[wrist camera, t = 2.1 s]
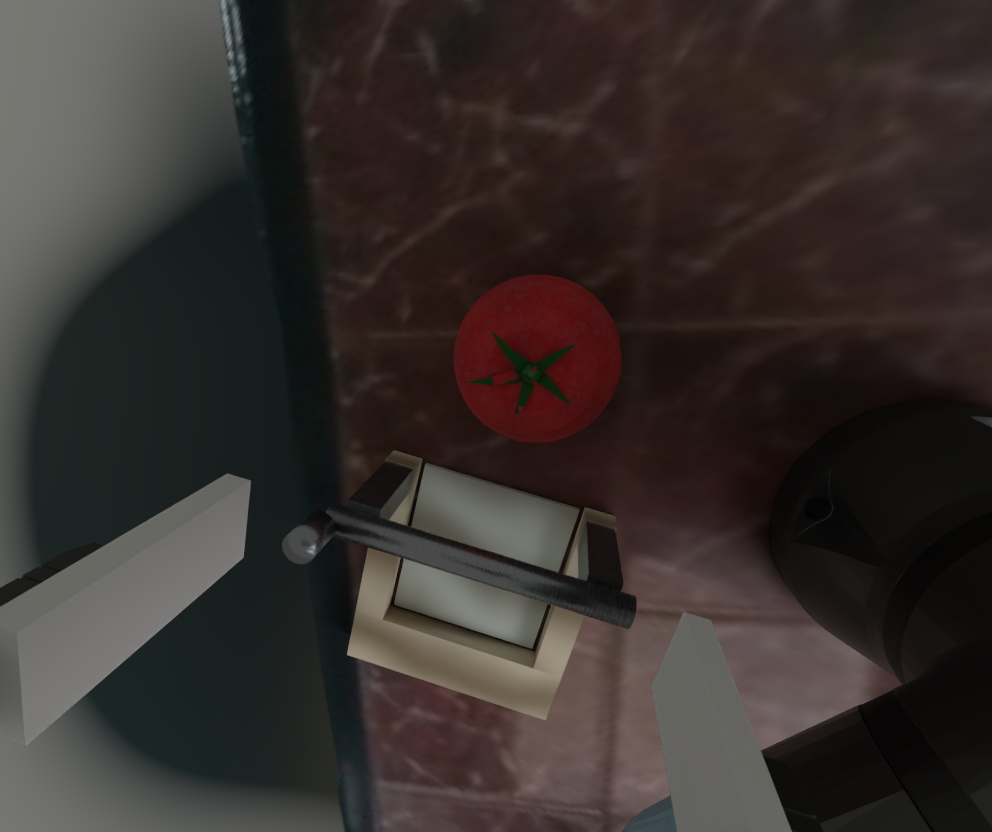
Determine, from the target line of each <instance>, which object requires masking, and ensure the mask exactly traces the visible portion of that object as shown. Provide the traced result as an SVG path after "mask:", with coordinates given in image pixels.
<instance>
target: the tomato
mask: <svg viewBox="0 0 992 832" xmlns="http://www.w3.org/2000/svg"><path fill="white" fill-rule="evenodd" d="M621 363H622V353H621V345H620V338H619V335H618V332H617V329H616V326H615V324H614V321H613V320H612V318H611V316H610V315H609V313H608V311H607V310H606V308H605V307H604V306H603V305H602V303H601V302H600V301H599V300H598V299H597V298H596V297H595V296H594V295H593V294H592V293H590V292H589V291H587V290H586V289H585V288H583V287H582V286H580V285H578V284H576V283H574V282H572V281H569V280H567V279H565V278H561V277H556V276H551V275H525V276H520V277H515V278H512V279H510V280H507V281H505V282H503V283H500V284H498V285H496V286H495V287H494V288H492V289H491V290H489V291H488V292H486V293H485V294H483V295H482V296H481V297H480V298H479V299H478V300H477V301H476V303H475V304H474V305H473V306H472V307H471V308H470V310H469V311H468V313H467V314H466V316H465V317H464V319H463V321H462V323H461V325H460V328H459V331H458V333H457V336H456V341H455V347H454V371H455V375H456V380H457V384H458V387H459V389H460V392H461V394H462V396H463V399H464V401H465V402H466V404H467V405H468V407H469V408H470V410H471V411H472V413H473V414H474V415H475V416H476V417H477V418H478V419H479V420H480V421H481V422H482V423H483V424H484V425H486V426H487V427H489V428H490V429H492V430H493V431H495V432H496V433H498V434H500V435H503V436H505V437H507V438H509V439H513V440H517V441H521V442H529V443H544V442H552V441H557V440H560V439H563V438H566V437H569V436H571V435H573V434H575V433H577V432H578V431H580V430H582V429H584V428H585V427H587V426H588V425H589V424H590V423H592V422H593V421H594V420H595V419H596V418H597V417H599V415H600V414H601V413H602V412H603V410H604V409H605V408H606V407H607V405H608V404H609V402H610V400H611V398H612V397H613V395H614V393H615V391H616V388H617V385H618V381H619V378H620V374H621Z"/></svg>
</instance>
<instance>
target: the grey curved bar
mask: <svg viewBox="0 0 992 832" xmlns="http://www.w3.org/2000/svg"><path fill="white" fill-rule="evenodd" d="M412 474H413V469H412V468H409V467H406V466H402V465H399V464H396V463H392V462H389V461H386V462H385V463H384V464H383V465H382V466H381V467H380V468H379V469H378V470H377V471H376V472H375V473H374V474H373V475H372V476H371V477H370V478H369V479H368V480H367V481H366V482H365V483H364V484H363V485H362V486H361V487H360V489H359V490H358V491H357V492H356V493H355V494H354V495H353V496H352V497H351V498H350V499H349V501H348V506H347V507H345V506H342V505H339V504H336V503H332V504H331V505H330V506H329V507H328V509H327V511H326V512H322V511H315V512H312V513H311V514H310V515H308V516H307V517H306V518H305V519H304V520H303V521H302V522H301V523H300V524H299V525H298V526H297V527H296V528H295V529H293V530H292V531H291V532H290V533H289V534H288V535H287V536H286V537H285V538H284V539H283V542H282V549H283V552H284V554H285V555H286V557H287V558H288V559H290V560H291V561H292V562H295V563H297V564H306V563H308V562H310V561H311V560H312V559H313V558H314V557H315V556H316V555H317V553H318V552H319V551H320V550H321V549H322V548H323V547H324V546H325V545H326V543H327V542H328V541H329V540H330V539H331V538H332V537H336V538H339V539H343V540H346V541H349V542H352V543H355V544H359V545H362V546H365V547H368V548H371V549H374V550H378V551H381V552H384V553H387V554H390V555H394V556H397V557H400V558H403V559H406V560H410V561H413V562H416V563H419V564H422V565H425V566H429V567H432V568H435V569H438V570H441V571H445V572H448V573H451V574H454V575H457V576H461V577H464V578H467V579H470V580H473V581H476V582H480V583H483V584H486V585H489V586H492V587H496V588H499V589H502V590H505V591H508V592H512V593H515V594H518V595H521V596H524V597H527V598H531V599H534V600H537V601H540V602H543V603H547V604H550V605H553V606H556V607H559V608H563V609H566V610H569V611H572V612H575V613H578V614H582V615H585V616H588V617H591V618H594V619H598V620H601V621H604V622H607V623H610V624H614V625H617V626H620V627H623V628H626V629H629V628H630V627H631V625H632V623H633V620H634V617H635V613H636V597H635V596H634V595H630V594H627V593H624V592H621V589H622V586H623V578H622V572H621V565H620V558H619V552H618V545H617V539H616V532H615V529H612V528H609V527H606V526H602V525H599V524H596V523H592V522H589V521H586V524H585V526H584V529H583V532H582V535H581V538H580V541H579V544H578V578H575V577H572V576H569V575H566V574H562V573H559V572H556V571H553V570H549V569H546V568H543V567H540V566H536V565H533V564H530V563H527V562H523V561H520V560H517V559H514V558H510V557H507V556H504V555H501V554H497V553H494V552H491V551H488V550H485V549H481V548H478V547H475V546H472V545H468V544H465V543H462V542H459V541H455V540H452V539H449V538H446V537H442V536H439V535H436V534H433V533H429V532H426V531H423V530H420V529H417V528H413V527H410V526H407V525H404V524H400V523H397V522H394V521H391V520H389V519H390V518H391V516H392V515H393V514H394V512H395V511H396V510H397V508H398V507H399V506H400V504H401V503H402V502H403V500H404V499H405V497H406V496H407V495H408V492H409V488H410V483H411V479H412Z"/></svg>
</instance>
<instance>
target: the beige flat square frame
mask: <svg viewBox="0 0 992 832" xmlns="http://www.w3.org/2000/svg"><path fill="white" fill-rule="evenodd" d="M422 460H423V459H422V458H419V457H415V456H412V455H408V454H405V453H402V452H398V451H395V450H394V451H393V452H392V453H391V454H390V455H389V456H388V457H387V458H386V459H385V462H386V461H389V462H392V463H396V464H399V465H402V466H406V467H409V468H412V469H413V474H412V479H411V483H410V488H409V492H408V495H407V496H406V497H405V499H404V500H403V502H402V503H401V504H400V506H399V507H398V508H397V510H396V511H395V512H394V514H393V515H392V516H391V518H390V519H389V520H391V521H394V522H397V523H400V524H404V525H407V526H408V523H409V519H410V514H411V510H412V505H413V501H414V496H415V492H416V487H417V482H418V478H419V473H420V469H421V464H422ZM579 511H580V510H579V508H576V507H573V506H570V505H566V504H563V503H560V502H556V501H553V500H550V499H546V498H543V497H539V496H536V495H533V494H529V493H526V492H523V491H519V490H516V489H513V488H509V487H506V486H503V485H499V484H496V483H493V482H489V481H486V480H483V479H479V478H476V477H472V476H469V475H466V474H462V473H459V472H456V471H452V470H449V469H446V468H442V467H439V466H436V465H432V464H429V463H426V464H425V467H424V472H423V476H422V481H421V485H420V490H419V494H418V499H417V503H416V508H415V512H414V517H413V521H412V525H411V527H413V528H417V529H420V530H423V531H426V532H429V533H433V534H436V535H439V536H442V537H446V538H449V539H452V540H455V541H459V542H462V543H465V544H468V545H472V546H475V547H478V548H481V549H485V550H488V551H491V552H494V553H497V554H501V555H504V556H507V557H510V558H514V559H517V560H520V561H523V562H527V563H530V564H533V565H536V566H540V567H543V568H546V569H549V570H553V571H556V572H559V569H560V566H561V563H562V560H563V557H564V555H565V552H566V549H567V546H568V543H569V540H570V537H571V534H572V531H573V528H574V525H575V522H576V519H577V516H578V514H579ZM586 521H589V522H592V523H596V524H599V525H602V526H606V527H609V528H612V529H615V532H616V530H617V524H616V518H615V516H613V515H610V514H606V513H603V512H600V511H596V510H593V509H590V508H586V507H585V508H584V511H583V514H582V517H581V520H580V523H579V526H578V529H577V532H576V534H575V537H574V540H573V543H572V546H571V549H570V552H569V555H568V558H567V561H566V563H565V566H564V569H563V572H562V574H566V575H569V576H572V577H575V578H578V544H579V541H580V538H581V535H582V532H583V529H584V526H585V524H586ZM400 559H401V558H400V557H397V556H394V555H390V554H387V553H384V552H381V551H378V550H374V549H371V548H368V550H367V555H366V561H365V566H364V571H363V576H362V581H361V586H360V591H359V596H358V601H357V606H356V612H355V617H354V622H353V627H352V632H351V637H350V642H349V647H348V652H347V655H349V656H352V657H355V658H358V659H361V660H364V661H367V662H370V663H373V664H376V665H379V666H382V667H385V668H389V669H392V670H395V671H398V672H401V673H404V674H407V675H410V676H413V677H416V678H419V679H422V680H425V681H428V682H431V683H434V684H437V685H440V686H443V687H446V688H449V689H452V690H455V691H458V692H461V693H464V694H467V695H470V696H473V697H476V698H479V699H482V700H485V701H488V702H491V703H494V704H497V705H500V706H503V707H506V708H509V709H513V710H516V711H519V712H522V713H525V714H528V715H531V716H534V717H537V718H540V719H543V720H546V718H547V715H548V712H549V710H550V707H551V704H552V702H553V699H554V696H555V694H556V691H557V688H558V686H559V683H560V680H561V678H562V675H563V672H564V670H565V667H566V664H567V662H568V659H569V656H570V653H571V651H572V648H573V645H574V643H575V640H576V637H577V635H578V632H579V629H580V627H581V624H582V621H583V619H584V616H585V615H582V614H578V613H575V612H572V611H569V610H566V609H563V608H559V607H556V606H553V605H551V607H550V610H549V613H548V616H547V619H546V621H545V624H544V627H543V630H542V633H541V636H540V639H539V642H538V645H537V648H536V650H535V651H532V650H529V649H525V648H522V647H519V646H516V645H513V644H510V643H507V642H504V641H500V640H497V639H494V638H491V637H488V636H485V635H482V634H479V633H476V632H472V631H469V630H466V629H463V628H460V627H457V626H454V625H451V624H448V623H444V622H441V621H438V620H435V619H432V618H429V617H426V616H423V615H420V614H416V613H413V612H410V611H407V610H404V609H401V608H398V607H395V606H392V605H390V604H391V600H392V595H393V591H394V586H395V582H396V577H397V573H398V568H399V564H400ZM394 605H397V606H400V607H403V608H406V609H409V610H412V611H415V612H418V613H422V614H425V615H428V616H431V617H434V618H437V619H440V620H443V621H447V622H450V623H453V624H456V625H459V626H462V627H465V628H468V629H471V630H475V631H478V632H481V633H484V634H487V635H490V636H493V637H496V638H499V639H503V640H506V641H509V642H512V643H515V644H518V645H521V646H524V647H528V648H531V649H532V648H533V645H534V642H535V639H536V636H537V634H538V631H539V628H540V625H541V622H542V619H543V616H544V613H545V610H546V607H547V603H543V602H540V601H537V600H534V599H531V598H527V597H524V596H521V595H518V594H515V593H512V592H508V591H505V590H502V589H499V588H496V587H492V586H489V585H486V584H483V583H480V582H476V581H473V580H470V579H467V578H464V577H461V576H457V575H454V574H451V573H448V572H445V571H441V570H438V569H435V568H432V567H429V566H425V565H422V564H419V563H416V562H413V561H410V560H406V559H404V561H403V566H402V570H401V575H400V579H399V583H398V588H397V592H396V597H395V601H394Z"/></svg>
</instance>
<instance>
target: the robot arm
mask: <svg viewBox="0 0 992 832" xmlns="http://www.w3.org/2000/svg"><path fill="white" fill-rule="evenodd" d="M250 484H251V481H250V480H247V479H243V478H240V477H237V476H234V475H230V474H226V475H224V476H222V477H221V478H219V479H218V480H216V481H214V482H212V483H211V484H209V485H207V486H206V487H204V488H202V489H200V490H199V491H197V492H195V493H193V494H192V495H190V496H188V497H187V498H185V499H183V500H182V501H180V502H178V503H176V504H175V505H173V506H172V507H170V508H168V509H166V510H165V511H163V512H161V513H159V514H158V515H156V516H154V517H153V518H151V519H149V520H147V521H146V522H144V523H142V524H141V525H139V526H137V527H136V528H134V529H132V530H130V531H129V532H127V533H125V534H124V535H122V536H120V537H119V538H117V539H115V540H113V541H112V542H110V543H108V544H107V545H105V546H103V545H100V544H97V543H91V544H88V545H85V546H82V547H79V548H75V549H72V550H69V551H66V552H64V553H62V554H61V555H59V556H57V557H55V558H54V559H52V560H50V561H48V562H46V563H44V564H43V565H42V567H41V568H39V567H37V568H35V569H33V570H32V571H30V572H28V573H26V574H24V575H23V577H22V578H21V579H19V578H17V579H15V580H14V581H12V582H10V583H8V584H6V585H5V586H3V587H1V588H0V738H2V739H5V740H8V741H11V742H14V743H16V744H19V745H22V746H27V745H28V744H29V743H30V742H31V741H33V740H34V739H35V738H36V737H37V736H38V735H39V734H41V733H42V732H43V731H44V730H45V729H46V728H48V727H49V726H50V725H51V724H52V723H53V722H54V721H55V720H57V719H58V718H59V717H60V716H61V715H62V714H64V712H66V711H67V710H68V709H69V708H71V707H72V706H73V705H74V704H75V703H76V702H77V701H79V700H80V699H81V698H82V697H83V696H84V695H85V694H87V693H88V692H89V691H90V690H91V689H92V688H94V687H95V686H96V685H97V684H98V683H99V682H101V681H102V680H103V679H104V678H105V677H106V676H107V675H108V674H110V673H111V672H112V671H113V670H114V669H116V668H117V667H118V666H119V665H120V664H121V663H122V662H124V661H125V660H126V659H127V658H128V657H129V656H131V654H133V653H134V652H135V651H136V650H137V649H139V648H140V647H141V646H142V645H143V644H144V643H146V642H147V641H148V640H149V639H150V638H151V637H152V636H154V635H155V634H156V633H157V632H158V631H159V630H160V629H162V628H163V627H164V626H165V625H166V624H167V623H168V622H170V621H171V620H172V619H173V618H174V617H176V616H177V615H178V614H179V613H180V612H181V611H182V610H184V609H185V608H186V607H187V606H188V605H189V604H190V603H191V602H193V601H194V600H195V599H196V598H197V597H199V596H200V595H201V594H202V593H203V592H204V591H205V590H207V589H208V588H209V587H210V586H211V585H212V584H214V583H215V582H216V581H217V580H218V579H219V578H220V577H222V576H223V575H224V574H225V573H226V572H227V571H229V570H230V569H231V568H232V567H233V566H234V565H235V564H237V563H238V562H239V561H240V560H241V559H242V558H243V557H244V547H245V535H246V526H247V516H248V505H249V494H250ZM770 541H771V548H772V553H773V557H774V560H775V563H776V566H777V568H778V570H779V572H780V574H781V576H782V578H783V579H784V581H785V583H786V584H787V586H788V587H789V589H790V590H791V591H792V593H793V594H794V596H795V597H796V599H797V600H798V602H799V603H800V605H801V606H802V607H803V608H804V610H805V611H806V612H807V613H808V614H809V615H810V616H811V617H812V618H813V619H814V620H815V621H816V622H817V623H818V624H819V625H821V626H822V627H823V628H824V629H825V630H827V631H828V632H830V633H831V634H832V635H834V636H835V637H837V638H838V639H840V640H841V641H843V642H844V643H846V644H847V645H849V646H850V647H852V648H853V649H854V650H856V651H857V652H859V653H860V654H862V655H863V656H865V657H866V658H868V659H869V660H871V661H872V662H874V663H875V664H877V665H878V666H880V667H881V668H883V669H884V670H886V671H887V672H889V673H890V674H892V675H893V676H895V677H896V678H898V680H899V681H900V682H901V683H902V685H901V686H899V687H897V688H895V689H893V690H892V691H890V692H888V693H886V694H883V695H881V696H879V697H877V698H875V699H873V700H871V701H869V702H866V703H864V704H861V705H858V706H856V707H853V708H851V709H849V710H847V711H845V712H843V713H841V714H838V715H836V716H834V717H832V718H830V719H828V720H826V721H823V722H821V723H819V724H817V725H815V726H813V727H811V728H808V729H806V730H804V731H802V732H800V733H798V734H796V735H793V736H791V737H789V738H787V739H785V740H783V741H781V742H778V743H776V744H774V745H772V746H770V747H768V748H766V749H763V750H760V747H759V745H758V742H757V739H756V737H755V734H754V732H753V729H752V726H751V724H750V721H749V719H748V716H747V713H746V711H745V708H744V705H743V703H742V700H741V698H740V695H739V692H738V690H737V687H736V685H735V682H734V679H733V677H732V674H731V672H730V669H729V666H728V664H727V661H726V658H725V656H724V653H723V651H722V648H721V645H720V643H719V640H718V638H717V635H716V632H715V630H714V627H713V624H712V622H711V620H709V619H706V618H702V617H699V616H696V615H692V614H689V613H686V612H683V615H682V617H681V619H680V621H679V624H678V626H677V628H676V631H675V633H674V635H673V637H672V640H671V642H670V644H669V647H668V649H667V651H666V653H665V656H664V658H663V660H662V663H661V665H660V667H659V670H658V672H657V674H656V676H655V679H654V681H653V683H652V686H651V688H652V694H653V699H654V705H655V711H656V716H657V722H658V727H659V733H660V738H661V744H662V750H663V755H664V761H665V766H666V772H667V778H668V783H669V789H670V794H671V795H670V796H669V797H667V798H665V799H663V800H661V801H659V802H658V803H656V804H654V805H652V806H650V807H648V808H647V809H645V810H643V811H641V812H640V813H639V814H638V815H636V816H635V817H634V818H633V819H632V820H631V821H630V822H629V823H628V825H627V826H626V827H625V828H624V830H623V832H992V410H991V409H988V408H985V407H981V406H978V405H973V404H969V403H963V402H957V401H945V400H928V401H915V402H907V403H901V404H896V405H892V406H888V407H884V408H881V409H878V410H874V411H872V412H869V413H866V414H864V415H861V416H859V417H857V418H855V419H853V420H851V421H849V422H847V423H845V424H843V425H841V426H840V427H838V428H836V429H835V430H833V431H832V432H830V433H829V434H827V435H826V436H824V437H823V438H822V439H821V440H819V441H818V442H817V443H816V444H815V445H813V446H812V447H811V448H810V449H809V450H808V451H807V452H806V453H805V454H804V455H803V456H802V457H801V458H800V460H799V461H798V462H797V463H796V464H795V466H794V467H793V468H792V470H791V471H790V473H789V474H788V476H787V477H786V479H785V481H784V482H783V484H782V486H781V488H780V490H779V493H778V495H777V498H776V501H775V504H774V507H773V511H772V516H771V523H770Z"/></svg>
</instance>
